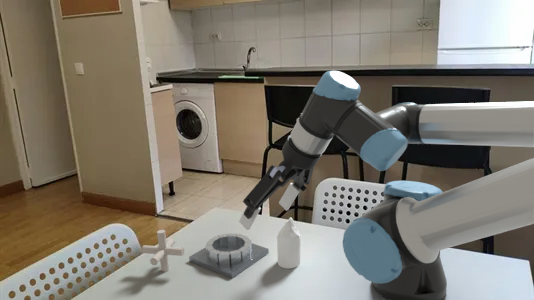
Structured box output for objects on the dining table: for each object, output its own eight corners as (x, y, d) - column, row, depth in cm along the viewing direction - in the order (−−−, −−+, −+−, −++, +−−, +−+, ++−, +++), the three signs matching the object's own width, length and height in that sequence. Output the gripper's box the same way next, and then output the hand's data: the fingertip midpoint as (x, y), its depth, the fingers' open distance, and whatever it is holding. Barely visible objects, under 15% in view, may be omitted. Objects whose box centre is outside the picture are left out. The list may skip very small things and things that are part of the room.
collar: (268, 253, 111) (268, 239, 110) (232, 278, 100) (231, 263, 99) (227, 239, 119) (226, 226, 118) (189, 261, 108) (188, 247, 107)
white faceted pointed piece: (278, 211, 106) (301, 212, 105) (280, 255, 109) (302, 257, 108) (274, 221, 100) (298, 222, 99) (275, 268, 103) (299, 269, 102)
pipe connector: (176, 282, 99) (172, 242, 96) (136, 279, 101) (130, 240, 98) (192, 260, 108) (189, 223, 106) (155, 257, 110) (150, 221, 108)
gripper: (326, 122, 97) (287, 189, 108) (252, 143, 79) (213, 221, 90) (351, 143, 94) (308, 210, 105) (280, 170, 76) (236, 247, 87)
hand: (264, 215), depth 98 cm, fingers open, 13 cm apart
